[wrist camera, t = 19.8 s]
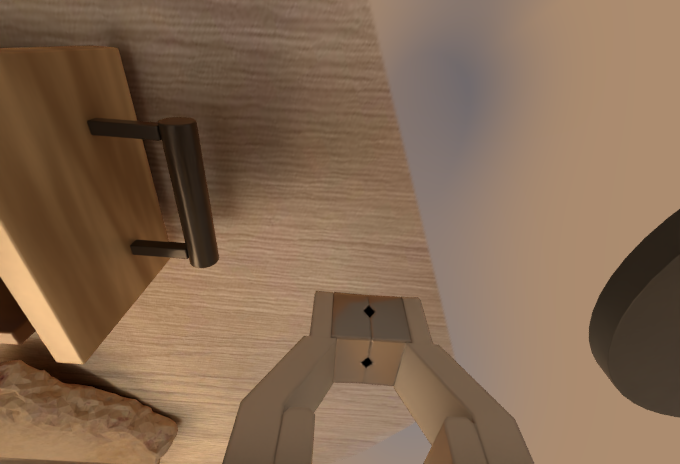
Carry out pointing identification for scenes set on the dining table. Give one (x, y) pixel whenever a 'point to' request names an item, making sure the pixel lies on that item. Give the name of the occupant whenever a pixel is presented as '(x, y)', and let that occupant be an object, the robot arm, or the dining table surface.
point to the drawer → (86, 198)
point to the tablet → (75, 421)
